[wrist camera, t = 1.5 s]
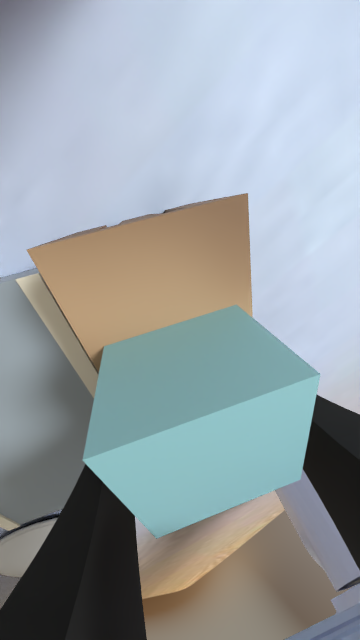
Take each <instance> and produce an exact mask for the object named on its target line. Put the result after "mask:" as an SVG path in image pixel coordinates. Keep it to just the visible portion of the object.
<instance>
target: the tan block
mask: <svg viewBox="0 0 360 640" xmlns="http://www.w3.org/2000/svg"><path fill="white" fill-rule="evenodd" d="M165 212H166V213H162V214H149V215H145V216H141V217H137V218H133V219H129V220H125V221H122V222H121V223H120V224H119V225H115V226H111V227H107V226H106V225H105V226H101V227H97V228H93V229H90V230H86V231H82V232H78V233H75V234H72V235H69V236H66V237H63V238H60V239H57V240H54V241H51V242H48V243H45V244H42V245H39V246H36V247H33V248H30V249H28V250H27V252H28V253H29V255H30V257H31V258H32V260H33V262H34V263H35V265H36V267H37V269H38V270H39V272H40V274H41V275H42V277H43V279H44V281H45V282H46V284H47V286H48V287H49V289H50V291H51V293H52V294H53V296H54V298H55V299H56V301H57V303H58V304H59V306H60V308H61V310H62V311H63V313H64V315H65V316H66V318H67V320H68V322H69V323H70V325H71V327H72V328H73V330H74V332H75V334H76V335H77V337H78V339H79V340H80V342H81V344H82V345H83V347H84V349H85V351H86V352H87V354H88V356H89V357H90V359H91V361H92V363H93V364H94V366H95V368H96V369H97V371H98V373H99V370H100V365H101V360H102V354H103V349H104V346H107V345H110V344H113V343H116V342H119V341H123V340H126V339H129V338H132V337H135V336H138V335H142V334H145V333H148V332H151V331H154V330H157V329H161V328H164V327H167V326H170V325H173V324H176V323H180V322H183V321H186V320H189V319H192V318H195V317H199V316H202V315H205V314H208V313H211V312H214V311H218V310H221V309H224V308H227V307H230V306H233V305H238V306H239V307H240V308H241V309H242V310H244V311H245V312H246V313H247V314H249V315H250V316H251V317H252V292H251V266H250V239H249V212H248V193H246V194H241V195H235V196H230V197H224V198H219V199H214V200H208V201H203V202H197V203H192V204H188V205H184V206H180V207H176V208H172V209H168V210H165Z"/></svg>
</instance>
